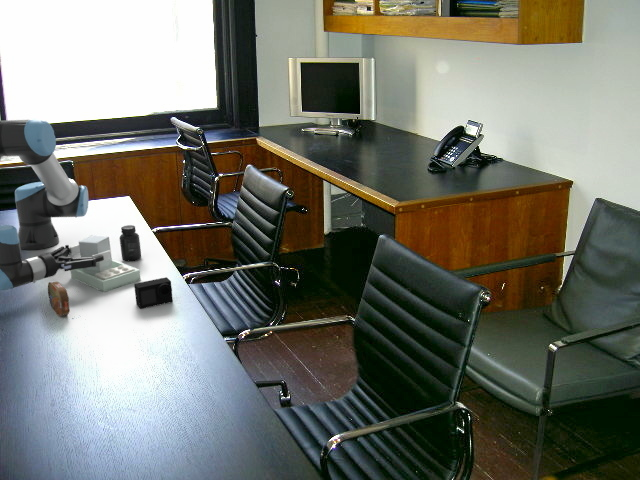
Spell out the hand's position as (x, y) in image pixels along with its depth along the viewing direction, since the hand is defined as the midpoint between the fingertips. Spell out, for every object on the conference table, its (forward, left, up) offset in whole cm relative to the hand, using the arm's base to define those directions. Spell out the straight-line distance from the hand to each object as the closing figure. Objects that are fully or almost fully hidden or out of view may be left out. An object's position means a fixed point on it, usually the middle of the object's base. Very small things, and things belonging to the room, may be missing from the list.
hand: (99, 250), depth 265 cm
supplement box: (0, -1, -8) cm, 9 cm away
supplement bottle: (-6, +16, -9) cm, 19 cm away
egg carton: (+10, -1, -9) cm, 14 cm away
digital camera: (+35, -3, -9) cm, 36 cm away
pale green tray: (+4, -1, -9) cm, 10 cm away
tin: (+17, -25, -9) cm, 32 cm away
